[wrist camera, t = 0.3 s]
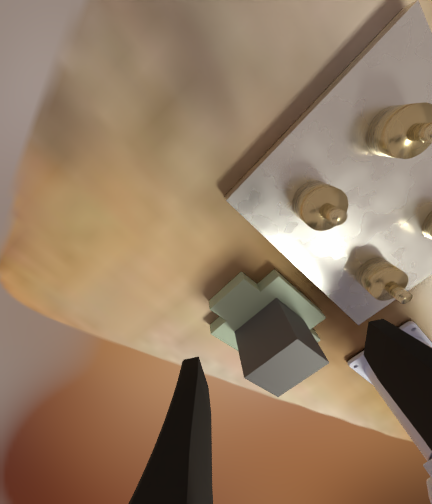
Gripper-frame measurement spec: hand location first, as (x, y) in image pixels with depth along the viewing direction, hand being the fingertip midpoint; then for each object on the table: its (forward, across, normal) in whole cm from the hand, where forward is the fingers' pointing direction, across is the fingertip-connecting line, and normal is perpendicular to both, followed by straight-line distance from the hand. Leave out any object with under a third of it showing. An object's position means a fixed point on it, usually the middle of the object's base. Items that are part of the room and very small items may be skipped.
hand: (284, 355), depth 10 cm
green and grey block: (+10, -1, +8) cm, 13 cm away
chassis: (+10, -10, -1) cm, 14 cm away
